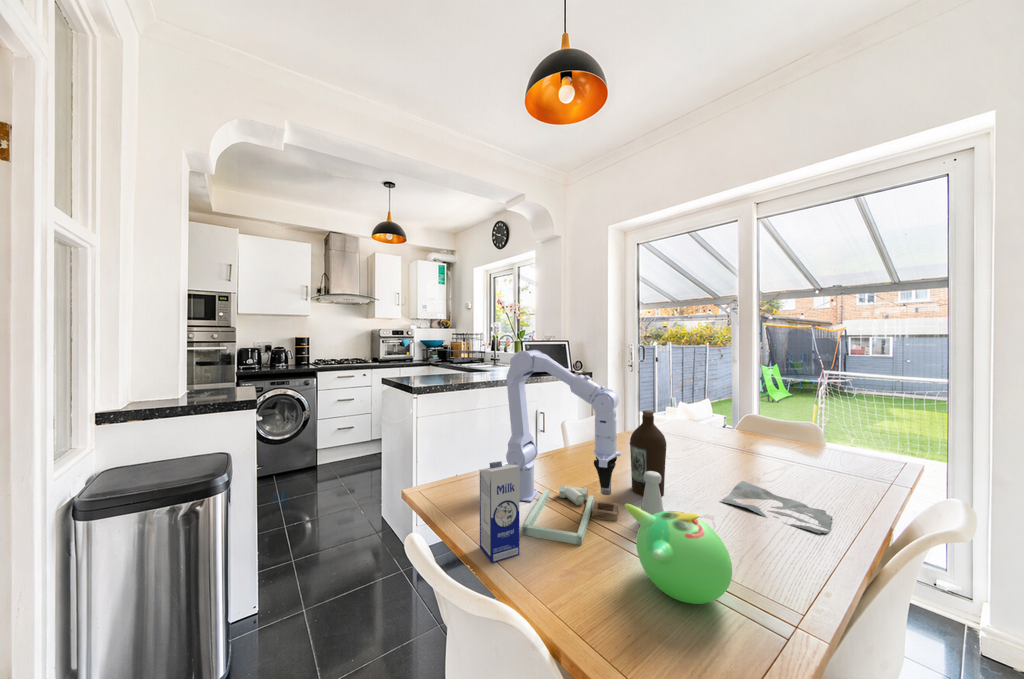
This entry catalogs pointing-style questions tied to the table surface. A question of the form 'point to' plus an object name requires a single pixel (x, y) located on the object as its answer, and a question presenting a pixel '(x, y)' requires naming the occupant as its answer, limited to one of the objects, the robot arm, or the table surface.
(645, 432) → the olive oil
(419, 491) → the table surface
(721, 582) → the toy bird
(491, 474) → the milk carton
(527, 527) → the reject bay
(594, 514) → the tan square frame
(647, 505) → the salt shaker
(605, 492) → the pin
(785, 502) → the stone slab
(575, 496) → the pipe fitting
